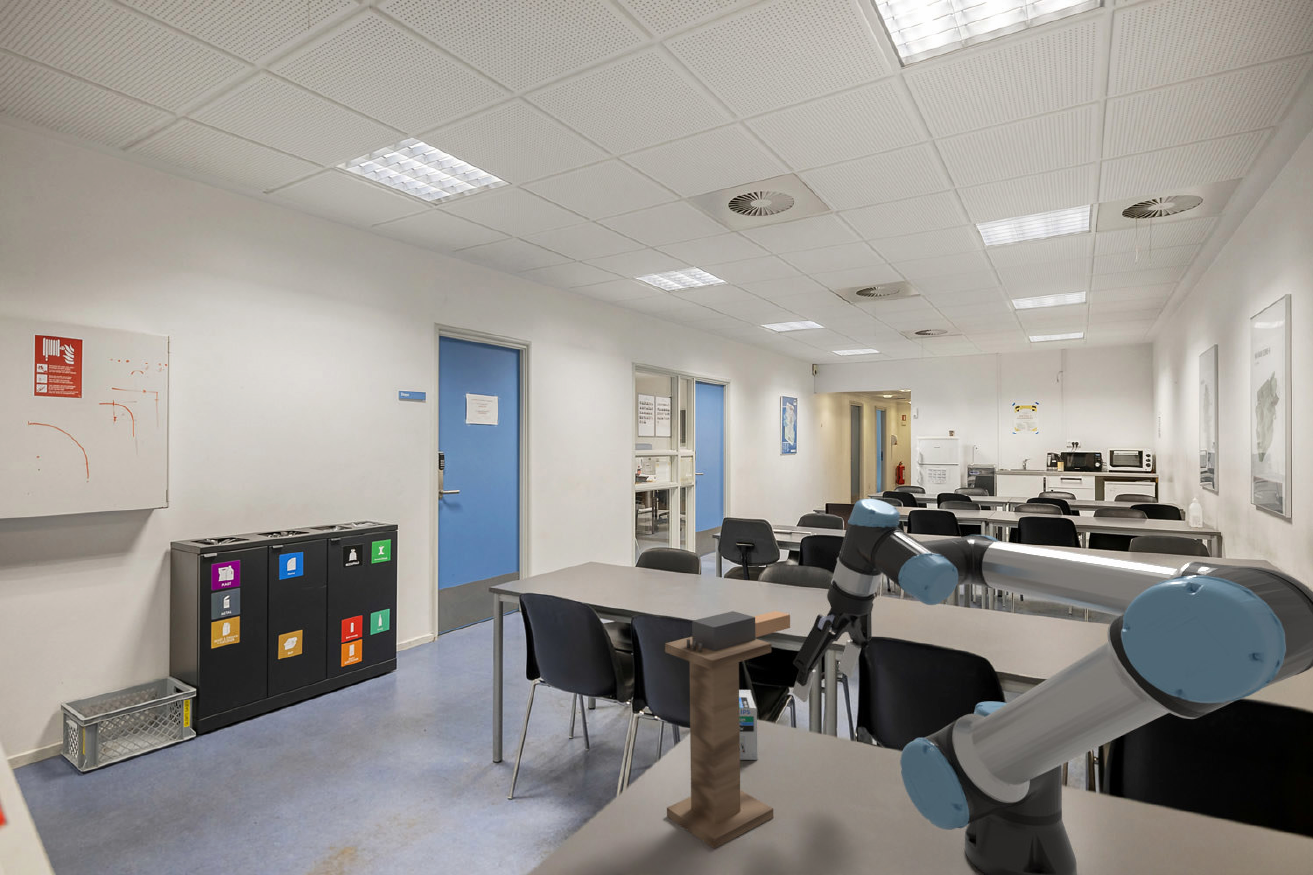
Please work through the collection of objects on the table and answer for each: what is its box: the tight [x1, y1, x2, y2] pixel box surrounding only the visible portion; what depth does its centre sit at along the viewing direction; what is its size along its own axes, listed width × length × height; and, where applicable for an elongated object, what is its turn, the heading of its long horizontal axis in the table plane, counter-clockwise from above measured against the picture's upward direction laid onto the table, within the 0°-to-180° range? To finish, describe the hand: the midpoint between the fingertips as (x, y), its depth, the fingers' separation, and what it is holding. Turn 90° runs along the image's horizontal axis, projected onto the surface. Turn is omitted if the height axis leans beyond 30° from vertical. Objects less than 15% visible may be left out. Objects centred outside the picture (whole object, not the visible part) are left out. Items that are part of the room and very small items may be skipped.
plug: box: [691, 610, 791, 651], centre depth 120 cm, size 6×20×4 cm, turn 128°
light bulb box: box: [739, 689, 759, 761], centre depth 141 cm, size 11×7×11 cm, turn 179°
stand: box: [664, 636, 774, 849], centre depth 116 cm, size 12×14×31 cm
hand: (823, 684), depth 122 cm, fingers open, 13 cm apart
